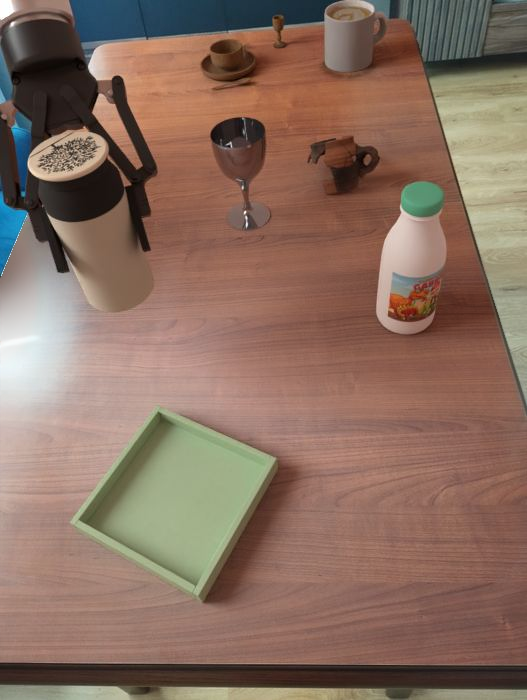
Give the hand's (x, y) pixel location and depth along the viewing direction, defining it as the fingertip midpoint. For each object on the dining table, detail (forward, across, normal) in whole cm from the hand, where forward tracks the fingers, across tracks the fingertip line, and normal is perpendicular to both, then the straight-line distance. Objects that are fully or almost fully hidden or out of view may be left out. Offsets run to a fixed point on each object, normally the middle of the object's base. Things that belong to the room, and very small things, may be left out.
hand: (105, 260), depth 60 cm
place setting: (-39, -34, -68) cm, 86 cm away
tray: (+27, 0, -2) cm, 27 cm away
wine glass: (-4, -20, -34) cm, 40 cm away
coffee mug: (-33, -56, -63) cm, 90 cm away
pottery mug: (-7, -38, -36) cm, 53 cm away
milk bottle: (+16, -35, -14) cm, 41 cm away
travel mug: (+3, 0, -8) cm, 8 cm away
